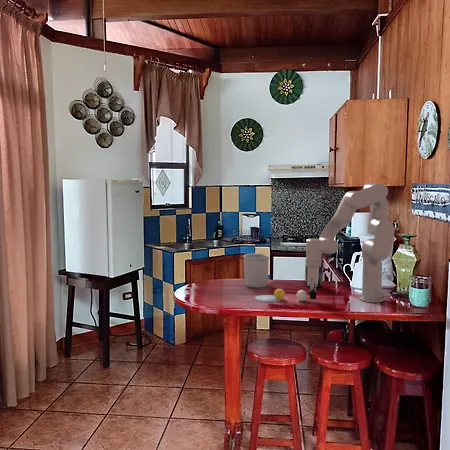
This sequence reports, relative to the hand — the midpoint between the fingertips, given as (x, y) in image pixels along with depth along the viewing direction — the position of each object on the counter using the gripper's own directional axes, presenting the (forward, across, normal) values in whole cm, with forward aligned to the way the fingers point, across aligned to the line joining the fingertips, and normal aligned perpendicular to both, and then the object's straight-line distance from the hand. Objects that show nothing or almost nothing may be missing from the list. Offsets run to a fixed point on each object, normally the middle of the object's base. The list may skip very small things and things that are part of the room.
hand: (313, 298), depth 229 cm
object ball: (-1, 0, -17) cm, 17 cm away
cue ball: (-1, 0, -6) cm, 6 cm away
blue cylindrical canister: (+2, -33, -2) cm, 33 cm away
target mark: (+2, 0, -23) cm, 23 cm away
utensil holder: (+2, -29, -35) cm, 45 cm away
